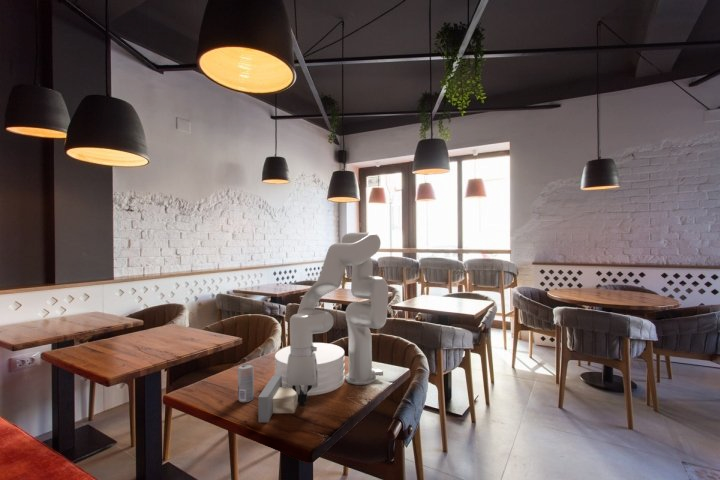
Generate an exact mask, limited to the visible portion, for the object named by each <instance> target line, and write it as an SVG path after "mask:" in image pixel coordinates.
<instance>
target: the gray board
mask: <svg viewBox="0 0 720 480" xmlns="http://www.w3.org/2000/svg"><path fill="white" fill-rule="evenodd" d="M279 387H282V375H275V374H273V375H272V377H271V378H270V380H269V381H267V383H266V385H265V387H264V388H263V389H262V391H261V392H260V394H259V396H257V404H258V405H257V407H258V408H257V411H258V413H257V414H258V418H257V419H258V420H257V421H258V423H269V421H270V419H271V417H272V415H273V414H274V413H273V397H274V396H275V394H276V392H277V391H278V389H279Z"/></svg>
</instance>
